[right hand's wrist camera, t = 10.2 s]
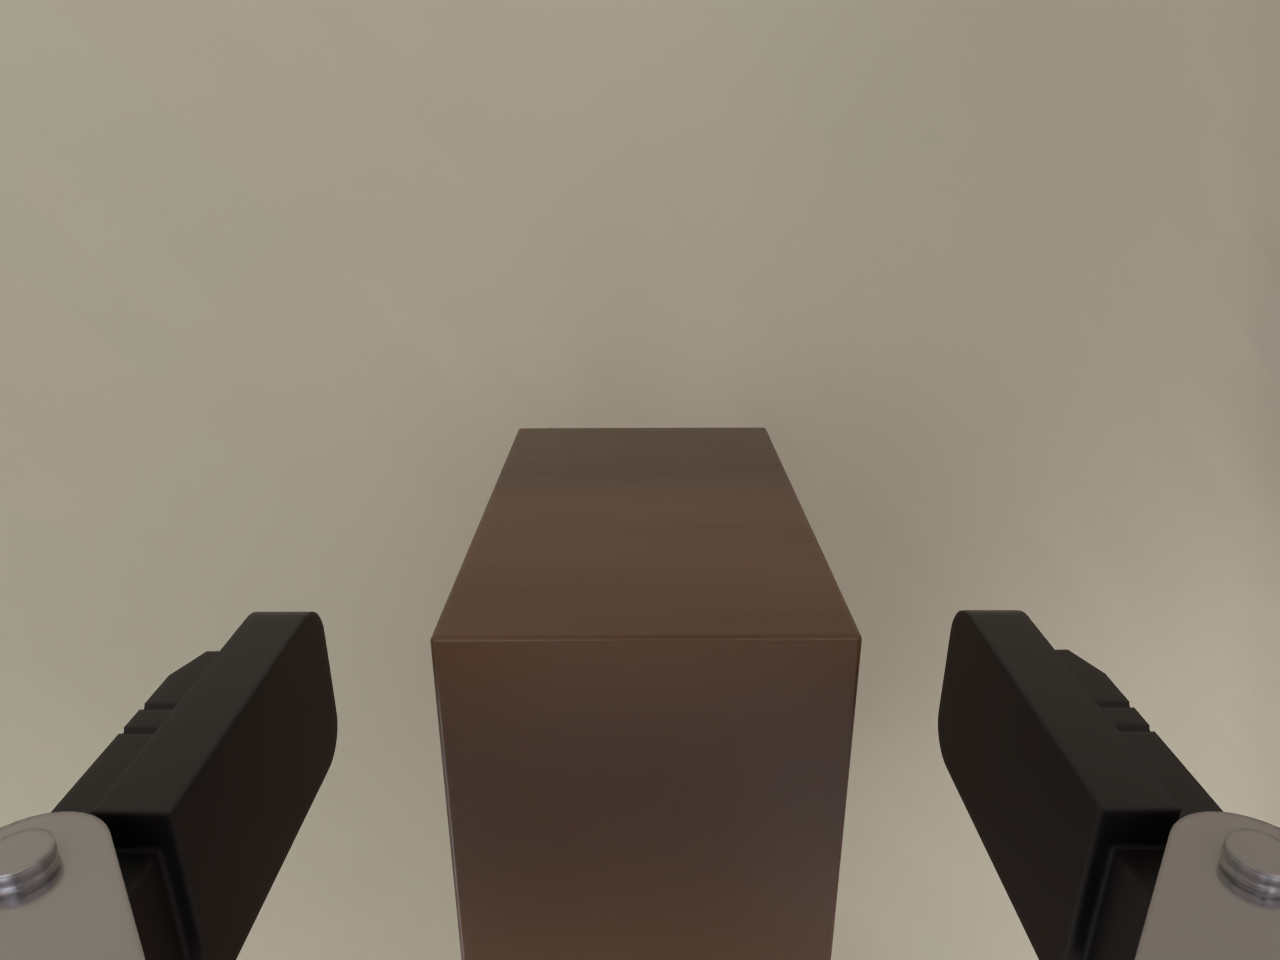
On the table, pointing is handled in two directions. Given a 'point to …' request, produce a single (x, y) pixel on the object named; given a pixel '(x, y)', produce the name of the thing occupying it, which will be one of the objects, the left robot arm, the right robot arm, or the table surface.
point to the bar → (645, 705)
